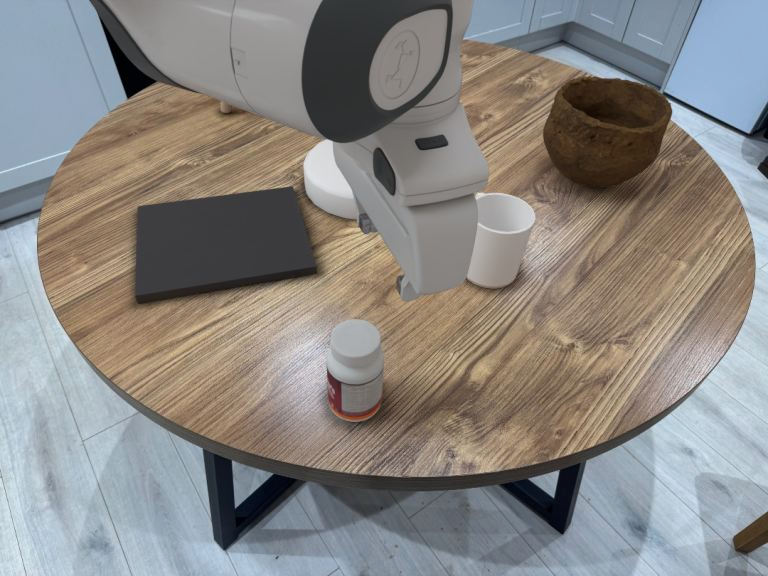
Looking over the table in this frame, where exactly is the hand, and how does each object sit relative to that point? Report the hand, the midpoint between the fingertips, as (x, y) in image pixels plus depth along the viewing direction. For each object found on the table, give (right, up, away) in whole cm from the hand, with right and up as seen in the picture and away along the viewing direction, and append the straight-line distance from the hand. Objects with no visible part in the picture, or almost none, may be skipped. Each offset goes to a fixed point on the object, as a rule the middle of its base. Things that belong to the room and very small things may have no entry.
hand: (387, 259), depth 51 cm
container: (-4, +15, +46) cm, 48 cm away
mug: (+14, +1, +32) cm, 35 cm away
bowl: (+36, +17, +50) cm, 63 cm away
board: (-24, +4, +33) cm, 41 cm away
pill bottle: (-4, -16, +14) cm, 22 cm away
